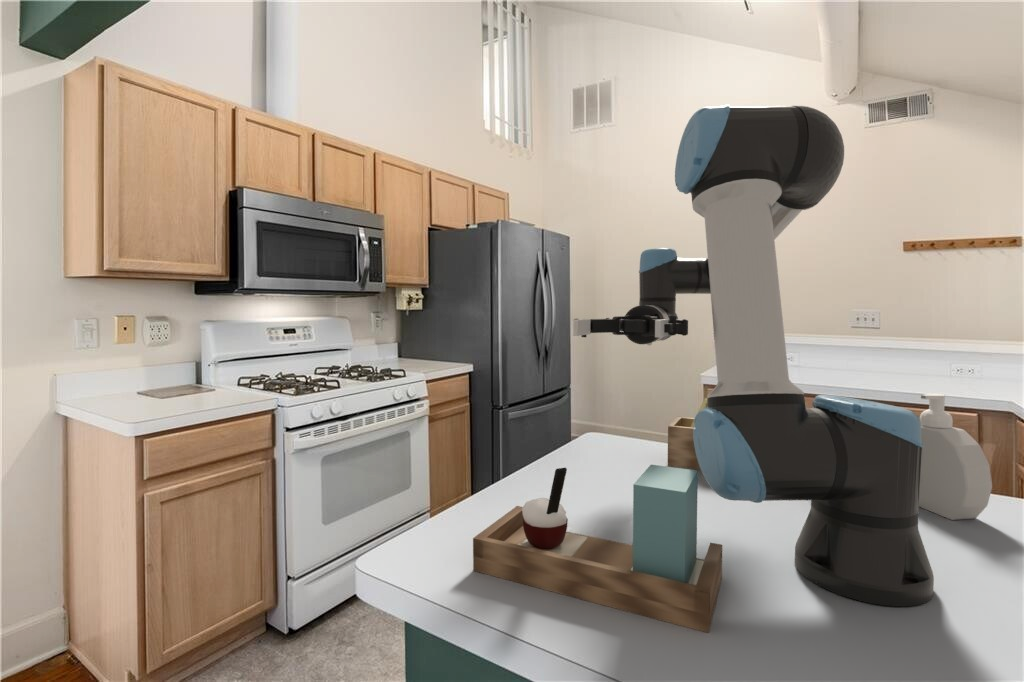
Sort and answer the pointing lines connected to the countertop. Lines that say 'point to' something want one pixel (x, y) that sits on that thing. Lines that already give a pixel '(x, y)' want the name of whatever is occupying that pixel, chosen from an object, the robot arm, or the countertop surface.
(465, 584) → the countertop surface
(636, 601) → the tray
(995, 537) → the countertop surface
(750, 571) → the countertop surface
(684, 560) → the teal carton
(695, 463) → the part holder
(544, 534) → the cocoa
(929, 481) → the soap bottle
